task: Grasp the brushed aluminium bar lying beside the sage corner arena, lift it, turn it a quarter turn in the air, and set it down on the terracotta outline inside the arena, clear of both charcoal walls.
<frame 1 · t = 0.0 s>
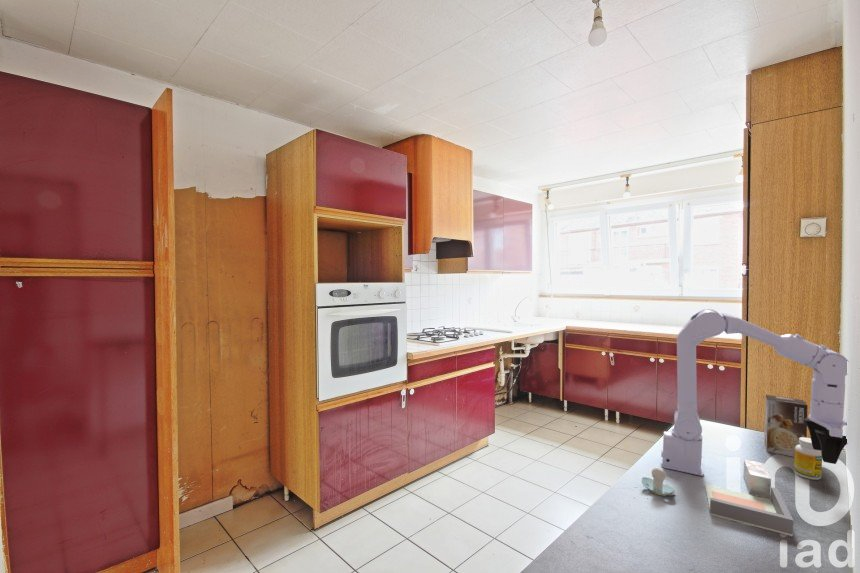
hand: (824, 456, 98), 10 cm above the table, fingers open, 7 cm apart
aluminium bar: (756, 488, 102), on the table
arena: (744, 508, 93), on the table
pacifier: (659, 492, 100), on the table
supplement bottle: (807, 476, 108), on the table
coffee box: (783, 452, 122), on the table
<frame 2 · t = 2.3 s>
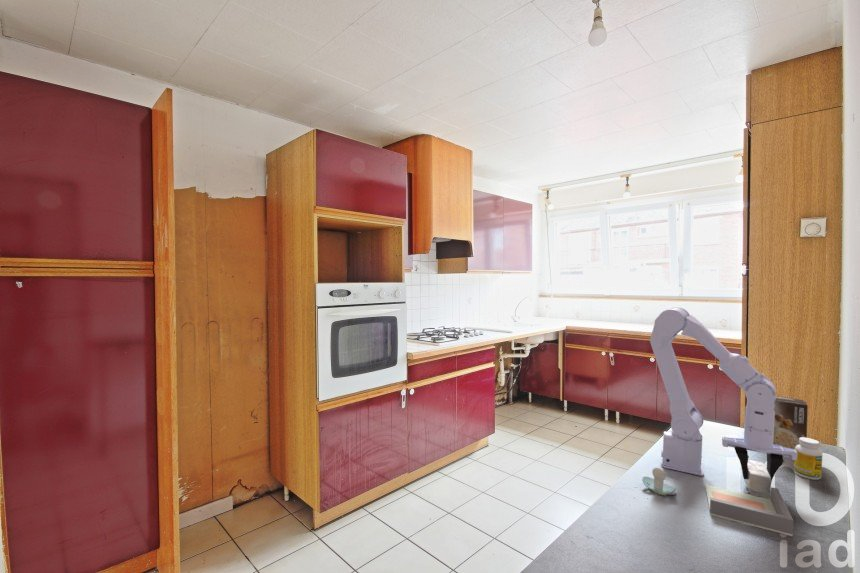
hand: (756, 479, 102), 2 cm above the table, fingers closed on aluminium bar, 4 cm apart
aluminium bar: (756, 487, 102), on the table, touching gripper
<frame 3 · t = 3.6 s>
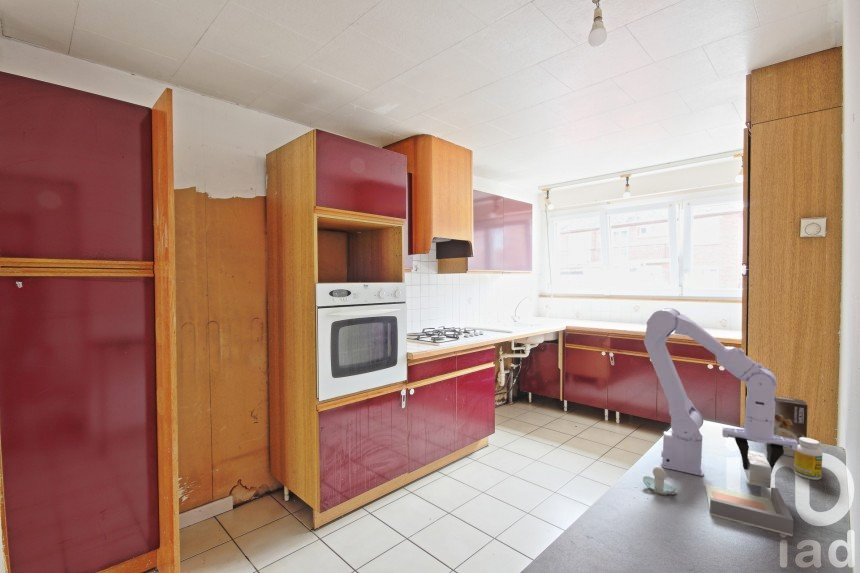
hand: (756, 470, 102), 4 cm above the table, fingers closed on aluminium bar, 4 cm apart
aluminium bar: (756, 477, 102), point 2 cm above the table, touching gripper
everything else where it was.
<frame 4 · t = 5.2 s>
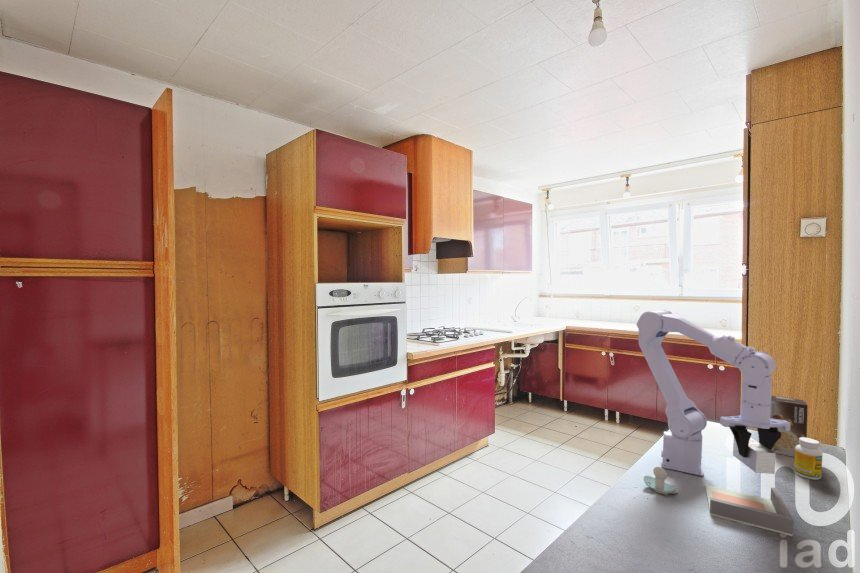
hand: (753, 456, 100), 9 cm above the table, fingers closed on aluminium bar, 4 cm apart
aluminium bar: (752, 464, 100), point 7 cm above the table, touching gripper
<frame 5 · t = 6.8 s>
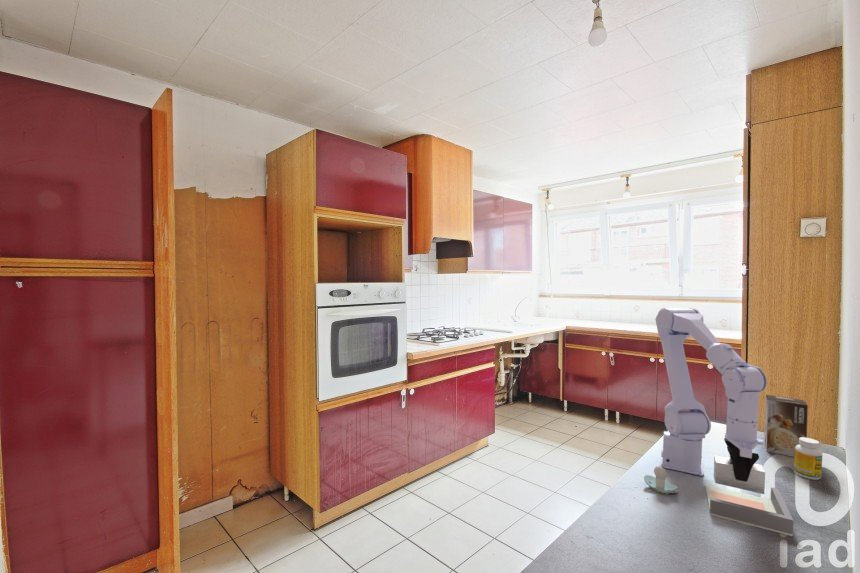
hand: (739, 475, 94), 7 cm above the table, fingers closed on aluminium bar, 4 cm apart
aluminium bar: (737, 484, 95), point 5 cm above the table, touching gripper
when the fingers open (3 cm above the table, at t = 8.3 s): aluminium bar stays where it is, resting on arena.
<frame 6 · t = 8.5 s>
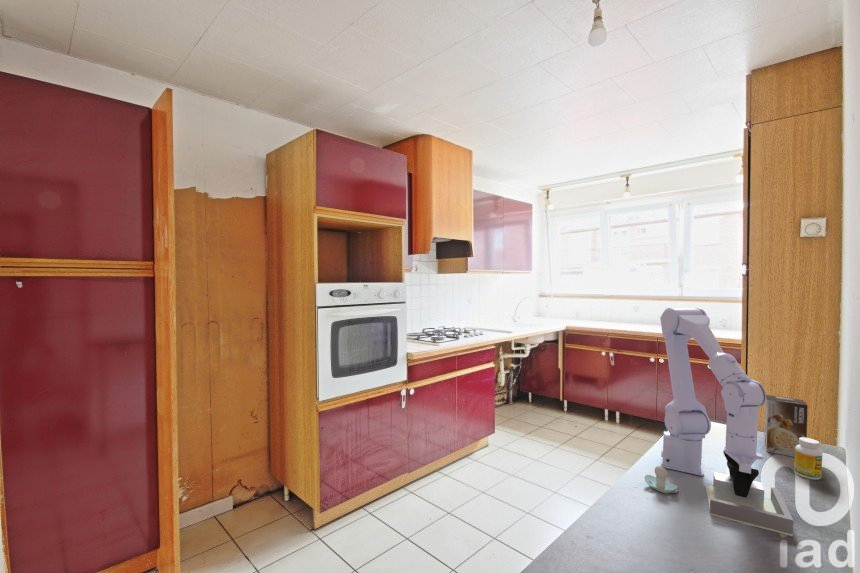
hand: (738, 489, 95), 3 cm above the table, fingers open, 5 cm apart
aluminium bar: (737, 501, 95), resting on arena
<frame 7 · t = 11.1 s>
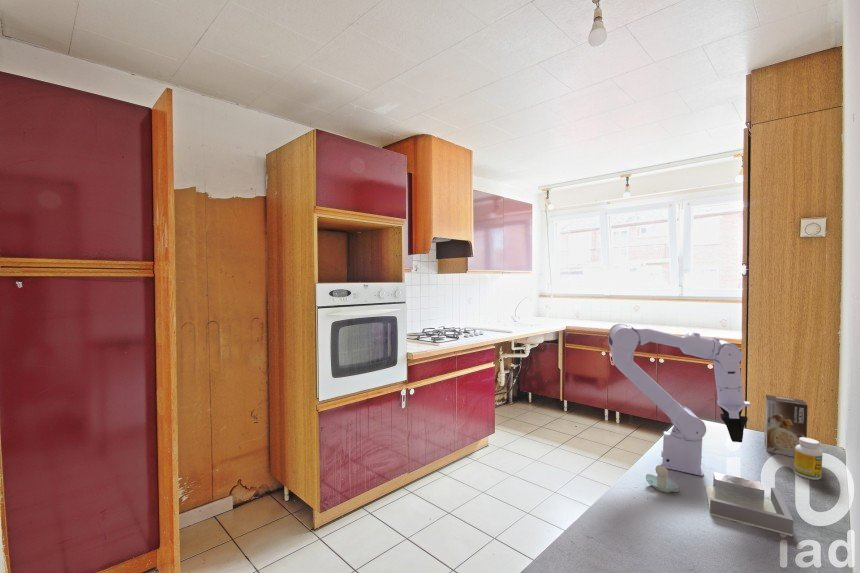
hand: (735, 435, 109), 10 cm above the table, fingers open, 7 cm apart
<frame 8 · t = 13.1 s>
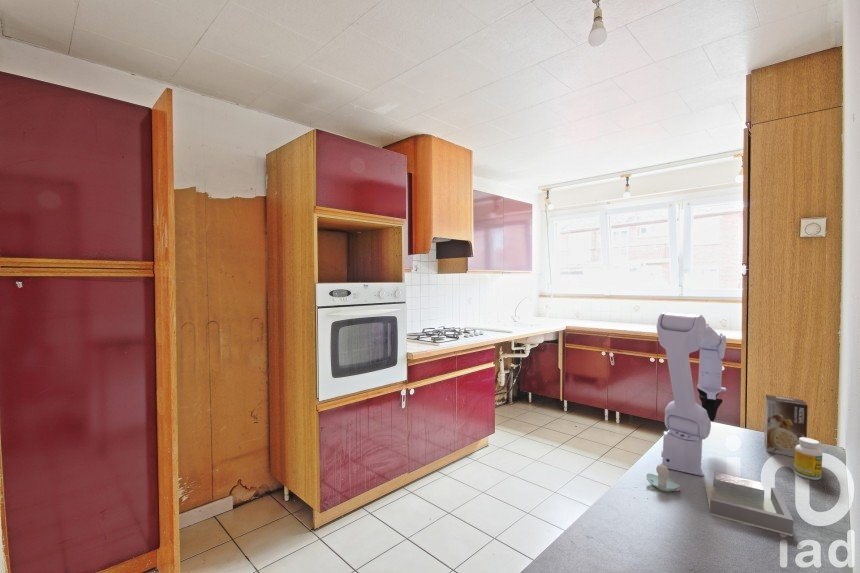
hand: (708, 416, 123), 10 cm above the table, fingers open, 7 cm apart
at the end: aluminium bar 0.2 cm from the target spot on the arena, point 0.5 cm above the arena's base; aluminium bar tilted 0°; the gripper is holding nothing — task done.
